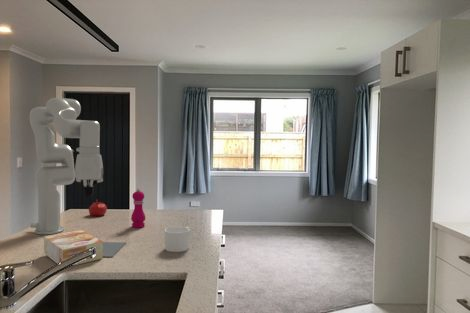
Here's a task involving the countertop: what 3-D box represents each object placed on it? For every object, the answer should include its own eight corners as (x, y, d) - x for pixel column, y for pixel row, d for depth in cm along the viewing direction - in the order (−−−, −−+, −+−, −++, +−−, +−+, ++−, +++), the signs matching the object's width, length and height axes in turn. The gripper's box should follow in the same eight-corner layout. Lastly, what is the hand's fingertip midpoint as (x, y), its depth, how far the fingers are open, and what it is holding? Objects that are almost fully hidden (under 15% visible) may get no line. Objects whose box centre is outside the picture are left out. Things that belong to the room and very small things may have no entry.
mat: (60, 257, 142) (60, 256, 142) (79, 242, 161) (79, 242, 161) (112, 257, 143) (112, 256, 143) (126, 243, 162) (126, 242, 162)
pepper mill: (132, 228, 187) (132, 189, 186) (129, 225, 194) (129, 187, 193) (147, 227, 191) (147, 188, 190) (143, 224, 197) (143, 187, 196)
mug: (178, 254, 148) (178, 234, 148) (159, 249, 154) (159, 230, 153) (199, 246, 160) (199, 227, 159) (180, 242, 165) (180, 224, 165)
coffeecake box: (82, 229, 154) (103, 240, 140) (82, 245, 154) (103, 259, 141) (43, 235, 143) (62, 249, 129) (43, 253, 144) (62, 269, 130)
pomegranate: (103, 217, 212) (103, 201, 212) (85, 217, 213) (85, 201, 212) (109, 213, 222) (109, 198, 222) (92, 213, 222) (92, 198, 222)
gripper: (67, 151, 146) (66, 197, 147) (105, 152, 146) (104, 198, 148) (74, 150, 153) (74, 194, 155) (111, 151, 154) (110, 195, 155)
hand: (89, 195), depth 151 cm, fingers closed
